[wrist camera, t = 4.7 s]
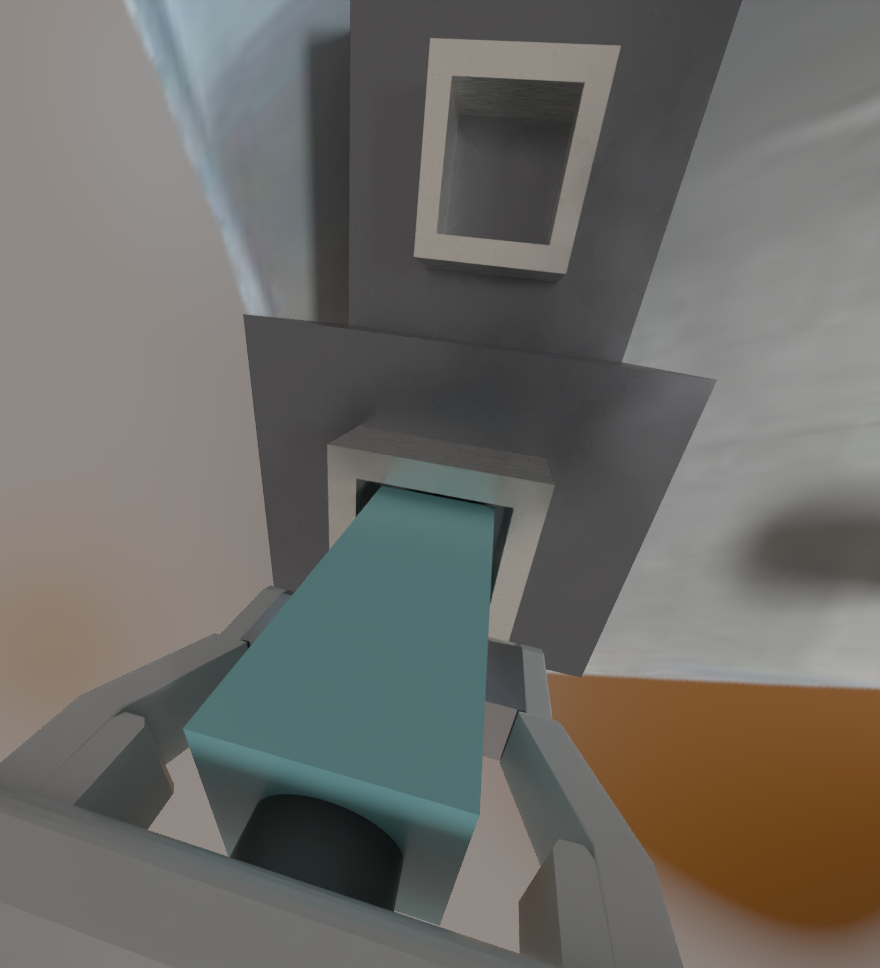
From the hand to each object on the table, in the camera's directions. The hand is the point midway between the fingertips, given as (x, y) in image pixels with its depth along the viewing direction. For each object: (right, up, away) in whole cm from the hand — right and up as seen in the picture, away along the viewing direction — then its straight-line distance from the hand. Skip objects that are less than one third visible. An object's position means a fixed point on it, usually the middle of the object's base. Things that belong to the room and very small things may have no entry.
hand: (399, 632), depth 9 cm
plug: (+1, +2, +4) cm, 4 cm away
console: (+4, +13, +13) cm, 19 cm away
